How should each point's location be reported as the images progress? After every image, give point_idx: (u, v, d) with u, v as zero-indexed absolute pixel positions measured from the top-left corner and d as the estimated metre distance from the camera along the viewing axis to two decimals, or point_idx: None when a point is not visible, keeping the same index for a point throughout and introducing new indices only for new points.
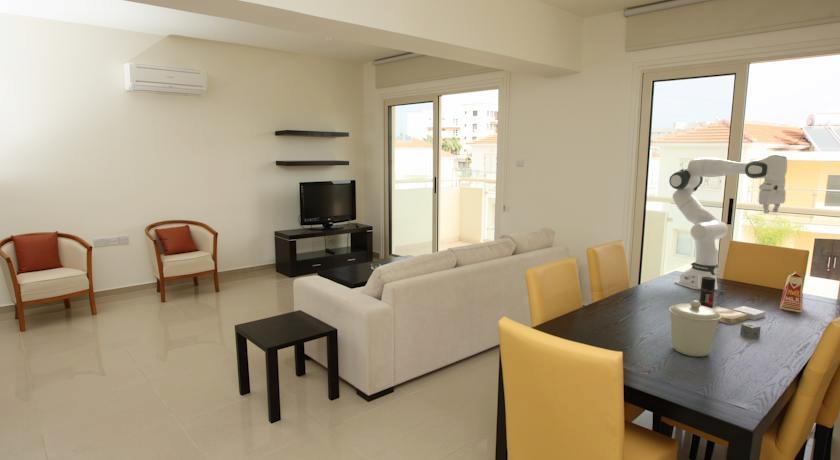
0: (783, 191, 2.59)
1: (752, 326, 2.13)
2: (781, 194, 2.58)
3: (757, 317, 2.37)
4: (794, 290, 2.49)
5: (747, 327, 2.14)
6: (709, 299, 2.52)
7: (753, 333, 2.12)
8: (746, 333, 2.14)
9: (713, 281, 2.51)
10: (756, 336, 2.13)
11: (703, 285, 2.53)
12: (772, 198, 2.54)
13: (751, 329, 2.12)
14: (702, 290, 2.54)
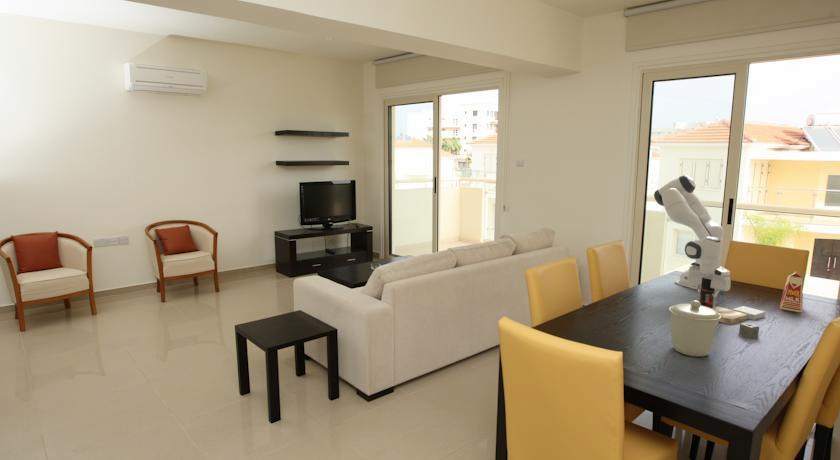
0: None
1: (751, 326, 2.13)
2: None
3: (757, 317, 2.37)
4: (794, 290, 2.49)
5: (746, 327, 2.14)
6: (709, 299, 2.52)
7: (752, 333, 2.12)
8: (744, 333, 2.15)
9: None
10: (755, 336, 2.13)
11: (703, 285, 2.53)
12: None
13: (750, 329, 2.12)
14: (702, 290, 2.54)
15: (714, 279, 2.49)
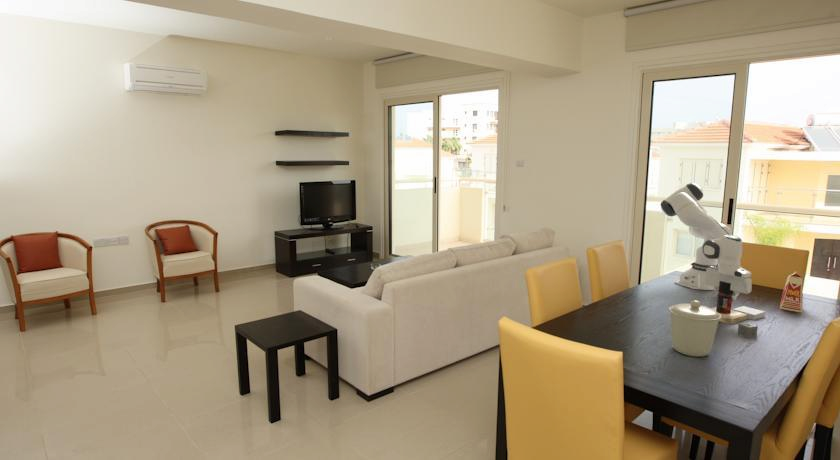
0: None
1: (749, 326, 2.14)
2: None
3: (757, 317, 2.37)
4: (794, 290, 2.49)
5: (744, 327, 2.14)
6: (726, 304, 2.35)
7: (750, 333, 2.13)
8: (743, 332, 2.15)
9: None
10: (753, 336, 2.14)
11: (721, 289, 2.36)
12: None
13: (748, 329, 2.12)
14: (719, 294, 2.37)
15: (734, 281, 2.32)
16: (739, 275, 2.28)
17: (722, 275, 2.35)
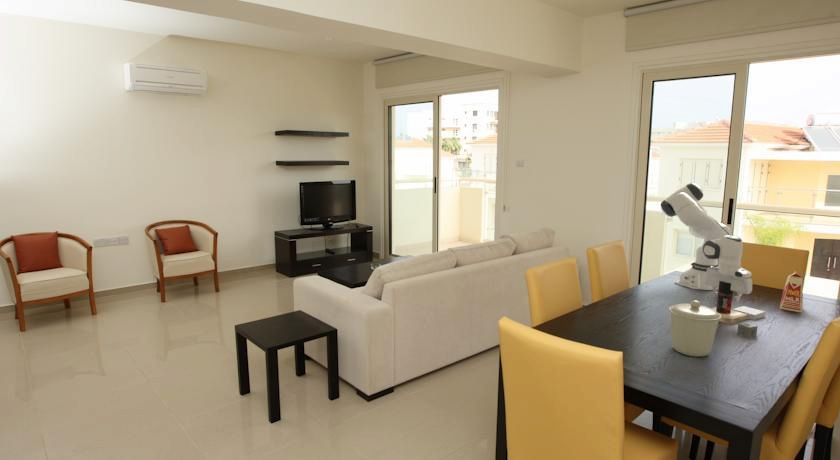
0: None
1: (749, 326, 2.14)
2: None
3: (757, 317, 2.37)
4: (794, 290, 2.49)
5: (744, 327, 2.14)
6: (726, 304, 2.35)
7: (750, 333, 2.13)
8: (742, 332, 2.15)
9: None
10: (753, 336, 2.14)
11: (720, 289, 2.36)
12: None
13: (748, 329, 2.12)
14: (719, 294, 2.37)
15: (734, 281, 2.32)
16: (740, 275, 2.28)
17: (723, 275, 2.35)
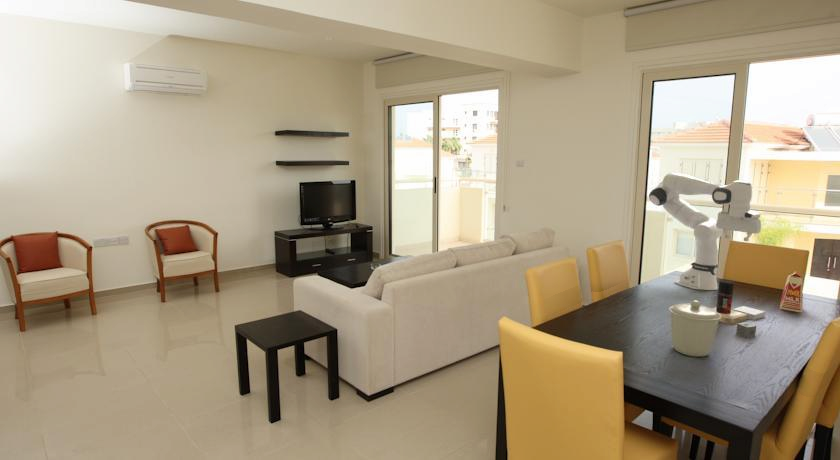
0: None
1: (748, 325, 2.14)
2: None
3: (757, 317, 2.37)
4: (794, 290, 2.49)
5: (743, 326, 2.14)
6: (726, 304, 2.35)
7: (749, 332, 2.13)
8: (741, 332, 2.15)
9: (731, 285, 2.34)
10: (752, 335, 2.14)
11: (720, 289, 2.36)
12: None
13: (747, 328, 2.13)
14: (719, 294, 2.37)
15: (744, 222, 2.50)
16: (749, 216, 2.46)
17: (733, 218, 2.53)
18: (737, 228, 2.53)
